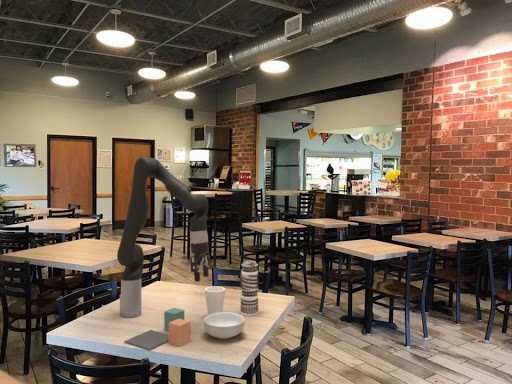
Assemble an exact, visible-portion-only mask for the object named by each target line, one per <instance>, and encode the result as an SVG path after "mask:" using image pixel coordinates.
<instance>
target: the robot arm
mask: <svg viewBox="0 0 512 384" xmlns="http://www.w3.org/2000/svg"><path fill="white" fill-rule="evenodd" d="M132 175H133V176H132V185H131V192H130V198H129V202H128V207H127V212H126V217H125V222H124V223H125V224H124V228H123V231H122V232H123V233H122V237H121V240H120V243H119V246H118V249H117V254H116V257H117V261H118V263H119V265H121V266H123V267H125V269H124V270H122V272H121V273H120V294H119V315H120V316H121V317H122V318H135V317H139V316H140V315H142V309H143V308H142V307H143V306H142V305H143V304H142V302H143V301H142V274H143V271H144V258H145V257H144V250H143V248H142V247H141V245H140V244H138V243H136V241H137V239H138V236H139V234H140V233H141V231H142V229H143V228H144V226H145V225H146V222H147V220H148V215H149V210H150V203H149V199H148V197H147V192H146V186H147V180H148V178H149V179H152V178H153V179H155V180H158V181H159V182H161V183H162V185H164V187H165V189H166V190H167V192H168V193H169V194H170V195H172V196H173V197H175V198H176V199H177V200H178V201H179V202H180V204H181V205H182V206H183V207H184V208H185V210H187V211H189V212H192V213H193V212H194V215H193V216H192V217H190V218H189V238H190V239H189V241H190V243H189V244H190V252H191V254H193V255H194V256H193V257H190V272H191V273H193V275H194V276H193V277H194V278H193V279H194V282H196V283H199V282H200V281H201V274H200V271H201V268H202V275H203V277H206V278H207V277H209V268H210V266H211V255H210V252H209V250H210V249H209V235H208V231H207V230H208V228H207V218H208V211H209V200H208V198H207V196H206V195H205V194H202V193H200V194H192V189H191V188H190V187H189V185H187V184H185V183H184V182H183V181H181V180H180V179H178V178H177V177H176V176H174V175H173V173H171V172H170V171H169V170H168V169H167V168H166V167H165V166H164V165H163V164H162V162H160V161H159V160H158V159H157V158H154V157H146V156H141V157H138V158H137V159H136V161H135V163H134V166H133V173H132Z"/></svg>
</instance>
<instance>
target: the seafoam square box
mask: <svg viewBox="0 0 512 384" xmlns="http://www.w3.org/2000/svg"><path fill="white" fill-rule="evenodd" d="M163 312H164V315H163V316H164V317H163V319H164V321H163V323H164V324H163V325H164V329H163V330H164V331H166V332H169V323H170V322H172V321H174V320H177V319H183V320H185V309H181V308H176V307H172V308H170V309H167V310H165V311H163Z"/></svg>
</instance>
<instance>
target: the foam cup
mask: <svg viewBox="0 0 512 384" xmlns="http://www.w3.org/2000/svg"><path fill="white" fill-rule="evenodd" d="M204 295H205V302H206V303H205V304H206V309H207V316H208V315H210V314H213V313H218V312H224V311H223V310H224V309H223V308H224V302H225V295H226V288H225V287H223V286H218V285H217V286H215V285H213V286H208V287H205V288H204Z"/></svg>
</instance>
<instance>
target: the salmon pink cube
mask: <svg viewBox="0 0 512 384" xmlns="http://www.w3.org/2000/svg"><path fill="white" fill-rule="evenodd" d="M168 335H169V342H168V344H171V345H174V346H177V347H182V346H184V345H186V344H188V343H189V342H191V321H190V320H187V319H184V320H183V319H177V320H174V321H172V322H170V323H169V331H168Z"/></svg>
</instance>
